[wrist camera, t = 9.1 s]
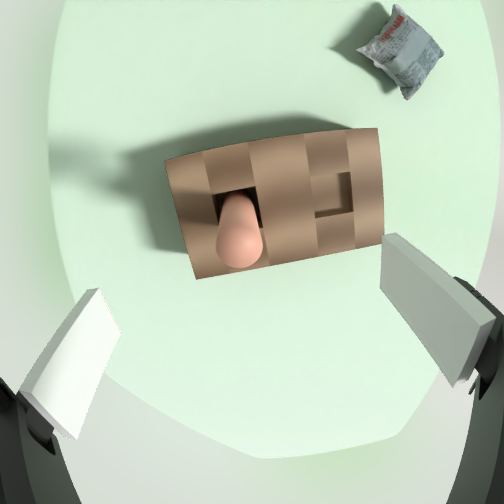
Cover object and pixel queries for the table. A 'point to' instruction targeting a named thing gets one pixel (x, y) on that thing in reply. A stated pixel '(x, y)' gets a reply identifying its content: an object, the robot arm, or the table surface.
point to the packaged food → (403, 52)
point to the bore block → (284, 195)
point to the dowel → (238, 231)
